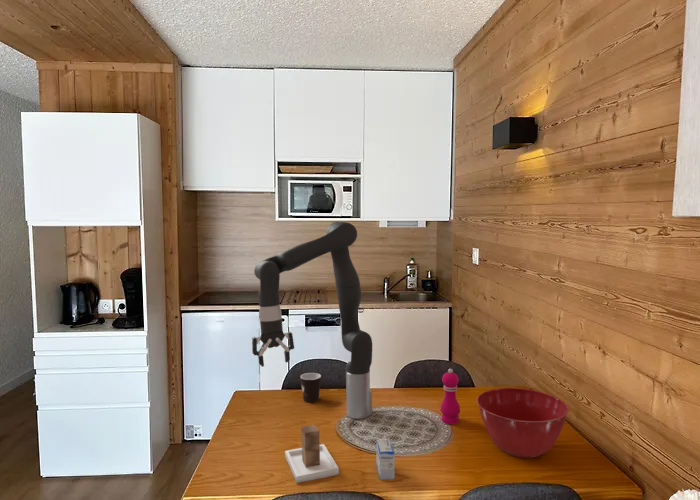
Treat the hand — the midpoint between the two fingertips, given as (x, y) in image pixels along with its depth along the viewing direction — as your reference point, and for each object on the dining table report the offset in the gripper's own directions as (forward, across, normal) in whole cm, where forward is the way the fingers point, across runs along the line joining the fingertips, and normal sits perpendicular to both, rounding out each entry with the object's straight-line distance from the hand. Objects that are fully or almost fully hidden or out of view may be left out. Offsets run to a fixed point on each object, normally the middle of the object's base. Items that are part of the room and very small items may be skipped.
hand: (274, 364), depth 167 cm
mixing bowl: (+32, +72, -37) cm, 87 cm away
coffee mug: (+26, +20, +30) cm, 44 cm away
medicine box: (+29, +24, -34) cm, 51 cm away
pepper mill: (+30, +62, -11) cm, 70 cm away
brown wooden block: (+27, +5, -22) cm, 35 cm away
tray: (+27, +5, -22) cm, 36 cm away
